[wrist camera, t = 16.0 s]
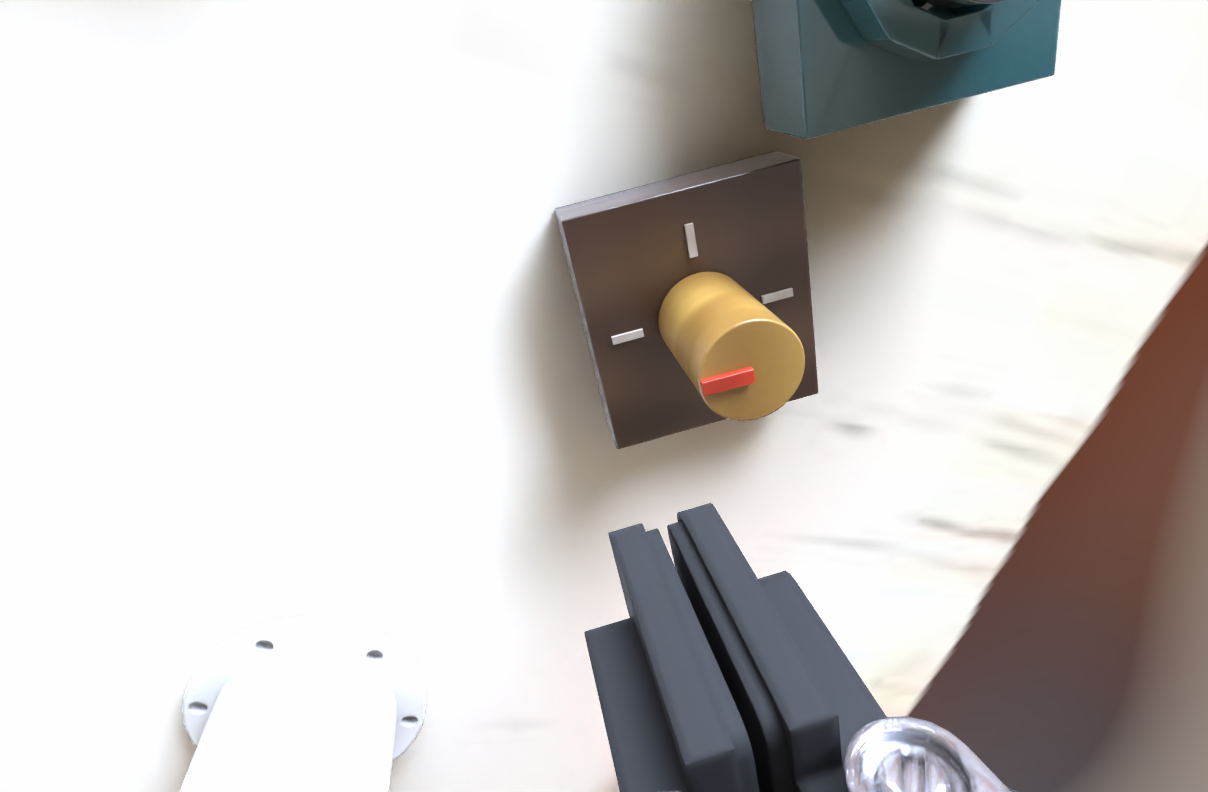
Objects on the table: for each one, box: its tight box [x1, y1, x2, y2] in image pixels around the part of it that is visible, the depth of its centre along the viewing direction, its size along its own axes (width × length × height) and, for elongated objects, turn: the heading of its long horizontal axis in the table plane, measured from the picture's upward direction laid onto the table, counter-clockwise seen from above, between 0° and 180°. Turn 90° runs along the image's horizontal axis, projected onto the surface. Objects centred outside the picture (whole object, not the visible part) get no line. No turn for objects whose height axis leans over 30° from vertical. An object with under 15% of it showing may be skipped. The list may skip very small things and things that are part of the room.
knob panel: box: [555, 151, 818, 449], centre depth 31 cm, size 11×10×3 cm
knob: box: [659, 272, 805, 421], centre depth 27 cm, size 4×4×6 cm
